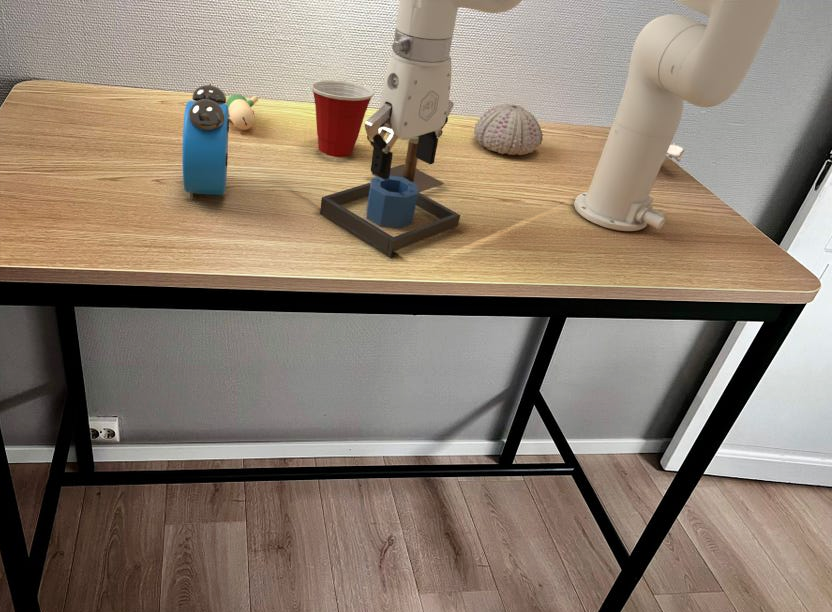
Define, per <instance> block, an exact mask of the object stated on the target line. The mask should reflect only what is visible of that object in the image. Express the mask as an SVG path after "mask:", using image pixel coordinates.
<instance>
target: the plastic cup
mask: <svg viewBox="0 0 832 612" xmlns="http://www.w3.org/2000/svg"><path fill="white" fill-rule="evenodd" d="M310 89H311V91H312V93H313V98H314V106H315V120H316V135H317V148H318V151H320V152H321V153H322V154H324V155H326V156H330V157H333V158H334V157H336V158H345V157H346V158H347V157H348V156H351V155H352V154H353V152H354V149H355V146H356V142H357V141H358V138H359V135H360V132H361V128H362V125H363V122H364V118H365V115H366V112H367V110H368V107H369V105H370V102H371V100H372V98H373V97H374V96H375V91H374V90H373V89H372V88H370V87H369V86H367V85H364V84H360V83H357V82H352V81H346V80H335V79H332V80H331V79H329V80H328V79H327V80H319V81H318V80H317V81H313V82H312V83H311V84H310Z"/></svg>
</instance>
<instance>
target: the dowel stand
mask: <svg viewBox="0 0 832 612" xmlns="http://www.w3.org/2000/svg"><path fill="white" fill-rule="evenodd" d="M418 139H419V138H418ZM418 139H417V138H410V139H408V143H407V144H408V145H407V149H406V156H405V159H404V160H405V161H404V163H403V164H400V165H396V166H393V167H392V166H391V170H390V176H397V177H403V178H405V179H407V180H409V181H411V182H413V183H415V184H416V185H417V188H418V192H419V193H422V192H425V191H428V190H430V189H433V188H436V187H440V186H442V185H445V182H443V181H441V180H439V179H437V178H435V177H433V176H431V175H429V174H428V173H426V172H424V171H421V170H420V169H418V168H417V166H418V160H419V159H418V158H416V151H417V145H418ZM371 175H372V176H374V177H375V178H376V177H379V176H377V175H375V174H373V173H372V172H371Z"/></svg>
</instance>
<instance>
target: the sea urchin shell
mask: <svg viewBox="0 0 832 612" xmlns="http://www.w3.org/2000/svg"><path fill="white" fill-rule="evenodd" d="M473 129H474V131H473V133H474V138H475V139H476V142H478V145H480V146H482V148H485V149H487V150H489V151H492V152H496V153H498V154H502V155H504V154H507V155H511V156H515V155H518V156H523V155H528V154H530V153H531V154H532V153H533V151H537V149H538V148H539V147H540V146H541V145H542V142H543V140H544V138H543V136H544V134H543V130H542V127H541V125H540V124H539V122H538V119H537V118H536V117H535V115H533V114H532V113H531V111H528V110H527V109H525V108H524V107H523V106H521V105H516V104H510V103H500V104H497V105H496V106H492V107H491V108H488V109H487V111H484V113H483V115H481V116H480V117H479V119H478V120H477V121H476V123H475V124H474V128H473Z"/></svg>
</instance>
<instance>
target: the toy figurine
mask: <svg viewBox="0 0 832 612" xmlns="http://www.w3.org/2000/svg"><path fill="white" fill-rule="evenodd" d="M258 101H259V97H258V96H257V95H253V96H252V97H251V98H250V99H249V100H248V99H247V98H246V97H245V96H244V95H242V94H240V93H239V94H238V93H236V94H233V95H231V96H229V97H228V98H227V99H226V103H225V104H226V105H227V106H228V109H229V121H230V122H231V124H232V125H233V126H234V127H235V128H237V129H238V130H242V131H245V130H246V131H247V130H249V129H251V128H252V127H253V126H254V123H255V119H256V116H255V115H256V114H255V112H254V109H253V107H254V105H255V104H256V103H257V102H258Z"/></svg>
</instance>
